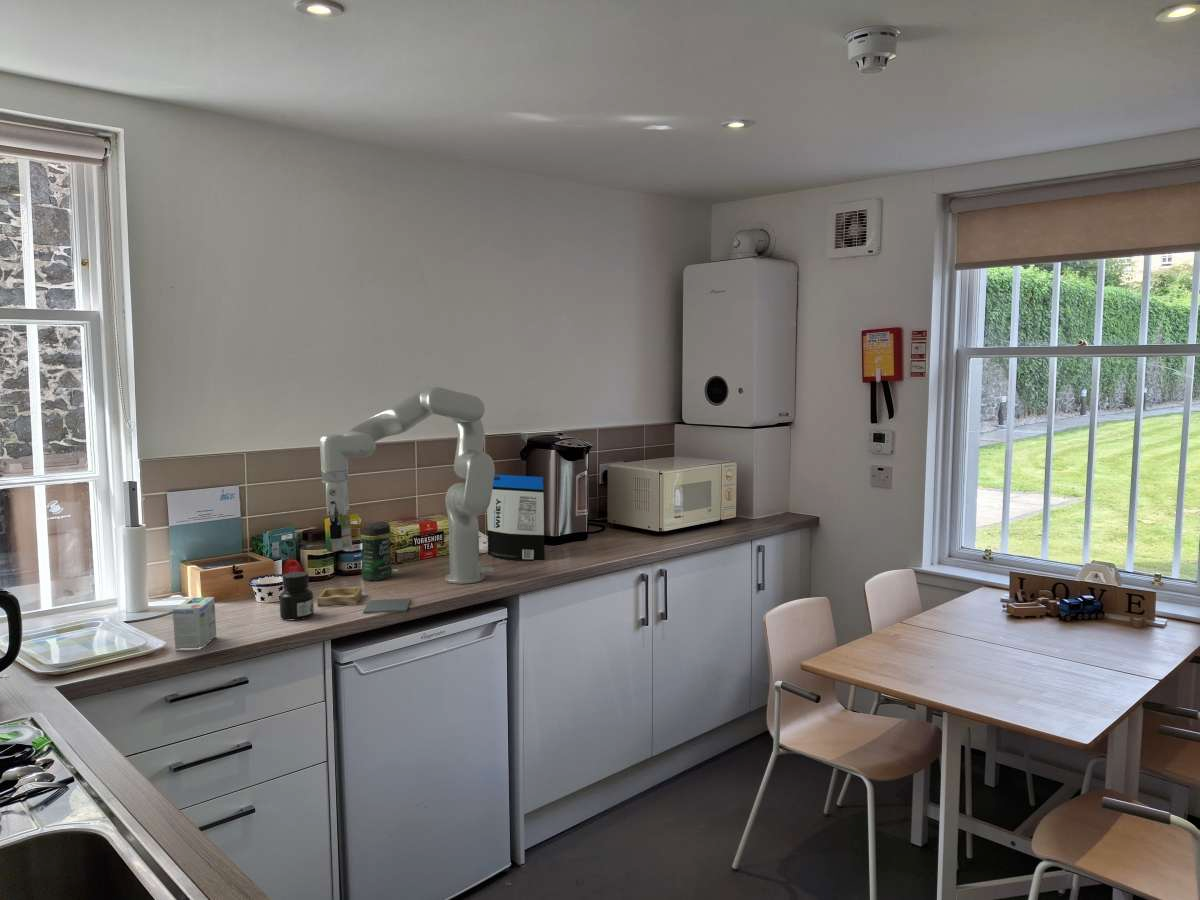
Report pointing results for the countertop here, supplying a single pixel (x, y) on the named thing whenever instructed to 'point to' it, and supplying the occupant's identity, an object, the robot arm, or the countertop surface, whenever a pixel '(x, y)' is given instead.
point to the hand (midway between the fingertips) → (338, 535)
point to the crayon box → (346, 538)
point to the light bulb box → (194, 622)
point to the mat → (387, 605)
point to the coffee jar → (375, 551)
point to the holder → (339, 596)
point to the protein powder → (516, 518)
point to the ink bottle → (296, 596)
